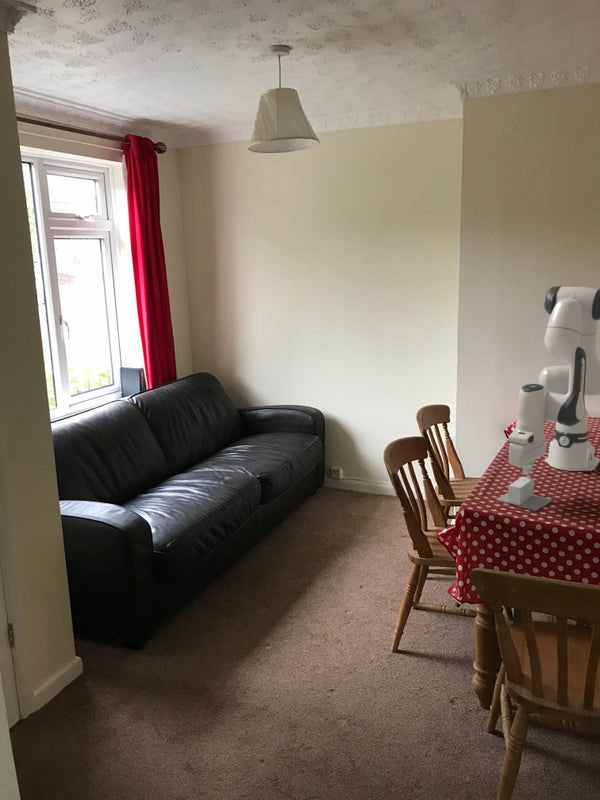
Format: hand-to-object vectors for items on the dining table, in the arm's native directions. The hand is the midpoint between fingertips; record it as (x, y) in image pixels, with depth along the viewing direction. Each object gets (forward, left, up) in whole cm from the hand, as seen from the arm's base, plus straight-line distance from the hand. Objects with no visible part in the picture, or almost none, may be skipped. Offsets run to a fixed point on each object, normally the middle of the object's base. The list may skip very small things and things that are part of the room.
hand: (527, 473), depth 224 cm
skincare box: (-1, 0, -5) cm, 5 cm away
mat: (+5, +2, -8) cm, 10 cm away
